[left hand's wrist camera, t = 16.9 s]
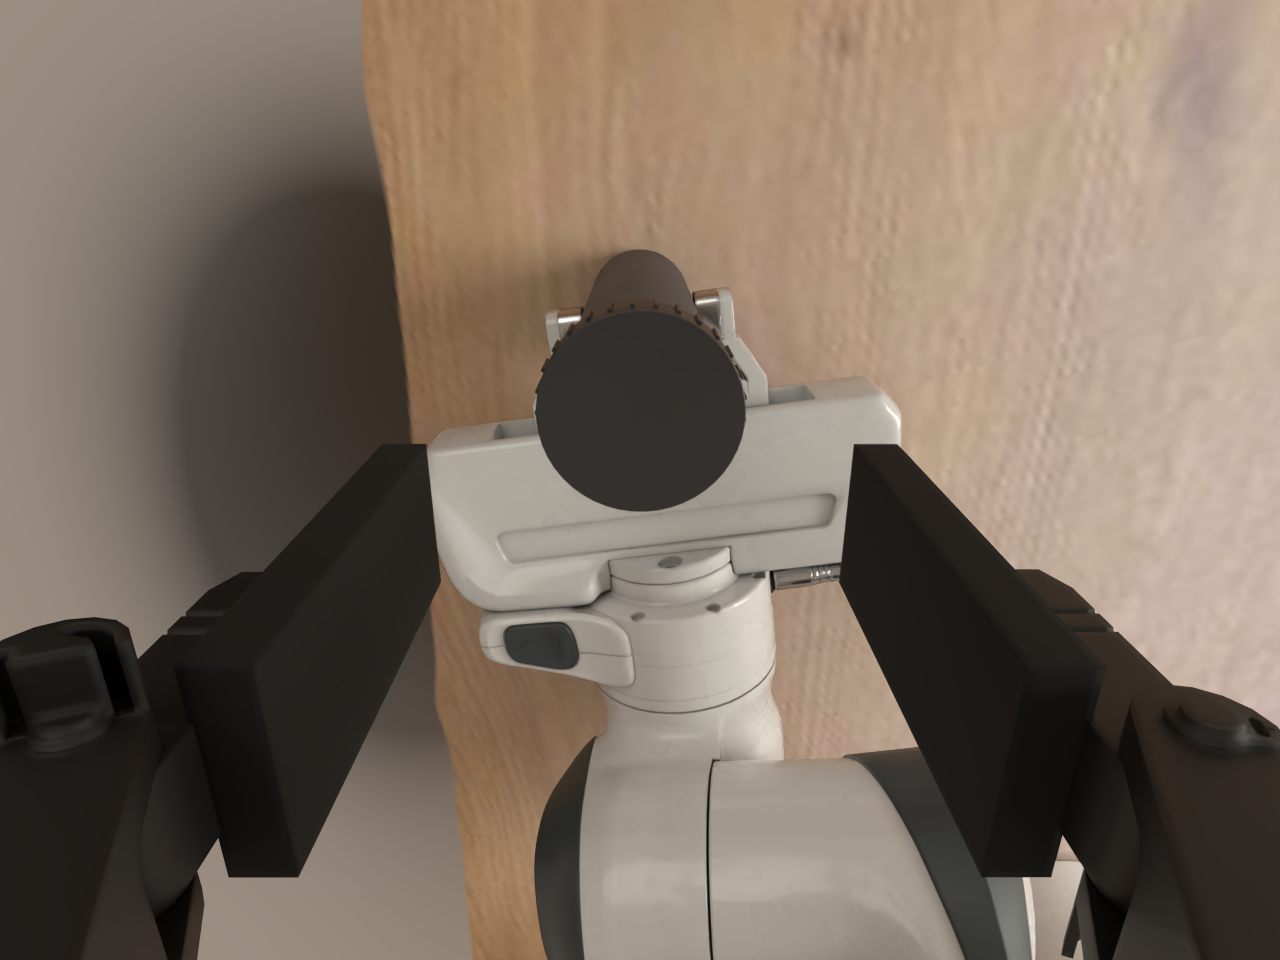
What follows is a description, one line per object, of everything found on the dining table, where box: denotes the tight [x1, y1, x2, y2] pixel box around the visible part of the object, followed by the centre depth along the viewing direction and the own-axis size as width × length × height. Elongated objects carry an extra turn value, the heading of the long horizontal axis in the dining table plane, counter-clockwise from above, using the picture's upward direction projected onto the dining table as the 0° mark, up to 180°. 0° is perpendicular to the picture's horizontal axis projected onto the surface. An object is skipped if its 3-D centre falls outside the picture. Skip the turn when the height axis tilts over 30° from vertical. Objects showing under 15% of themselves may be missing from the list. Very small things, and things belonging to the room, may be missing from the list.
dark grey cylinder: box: [580, 250, 699, 320], centre depth 29 cm, size 5×5×19 cm
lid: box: [535, 297, 747, 512], centre depth 20 cm, size 5×5×2 cm
